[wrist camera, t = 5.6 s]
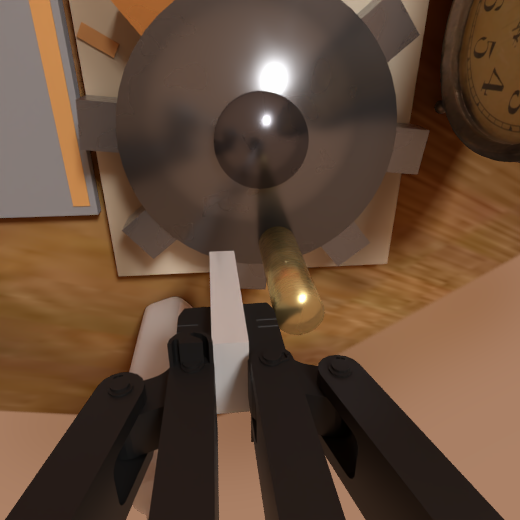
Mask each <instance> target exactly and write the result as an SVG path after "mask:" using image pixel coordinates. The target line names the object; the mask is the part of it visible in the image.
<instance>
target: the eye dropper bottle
mask: <svg viewBox="0 0 520 520" xmlns="http://www.w3.org/2000/svg"><path fill="white" fill-rule="evenodd" d="M185 308H193V307H192V306H191V305H190V304H188V303H187V302H186V301H185V300H183V299H182V298H179V297H170V298H167V299H164V300H161V301H158V302H156V303H153V304H150V305H149V306H148V307H146V309H145V312H144V315H143V319H142V323H141V327H140V331H139V335H138V339H137V343H136V346H135V350H134V354H133V358H132V363H131V367H130V371H129V372H131V373H135V374H138V375H139V376H141V377H142V378H143V381H144V380H147V379H150V378H153V377H156V376H158V375H160V374H162V373H164V372H165V371H166V370H167V369H169V368H170V366H169V357H168V348H167V343H168V341H169V339H170V338H172V337H173V336H174V335H175V334H177V333H176V332H177V322H178V316H179V315H180V313H181V312H182V311H183V310H184V309H185ZM157 454H158V449H157V450H154V454H153V458H152V460H151V462H150V465H149V467H148V469H147V472H146V474H145V476H144V479H143V481H142V483H141V486H140V488H139V490H138V492H137V495H136V497H135V499H134V502H133V504H132V505H133V506H134V507H135V508H136V509H137V510H138V511H139V512H141V513H143V514H146V516H147V520H148V519H149V511H150V504H151V497H152V490H153V483H154V476H155V468H156V461H157Z"/></svg>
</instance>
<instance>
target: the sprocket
mask: <svg viewBox="0 0 520 520" xmlns="http://www.w3.org/2000/svg"><path fill="white" fill-rule="evenodd" d="M111 1H112V3H113V4H114V5H115V6H116V7H117V8H118V10H119V11H120V12H121V13H122V14H123V15H124V17H125V18H126V19H127V20H128V21H129V22H130V24H131V25H132V26H133V27H134V28H135V29H136V31H137V32H138V33H139V34H140V35H141V37H140V39H139V41H138V42H137V44H136V45H135V47H134V49H133V51H132V53H131V55H130V57H129V60H128V62H127V64H126V66H125V69H124V72H123V76H122V79H121V83H120V86H119V91H118V98H116V97H105V96H94V95H85V96H82V97H80V98H78V99H76V109H77V119H78V129H79V140H80V150H88V151H101V152H115V153H119V154H120V158H121V161H122V165H123V168H124V171H125V173H126V176H127V178H128V181H129V183H130V185H131V187H132V189H133V191H134V193H135V194H136V196H137V198H138V200H139V201H140V203H141V204H142V206H141V207H140V208H139V209H137V210H136V211H135V212H134V213H133V214H132V215H131V216H130V217H128V219H127V221H126V223H125V225H124V227H123V229H122V231H123V232H124V233H125V234H126V235H127V236H128V237H129V238H130V239H132V240H133V241H134V242H135V243H136V244H137V245H138V246H139V247H141V248H142V249H143V250H144V251H145V252H146V253H147V254H148V255H150V256H151V257H152V258H153V259H154V258H156V257H157V256H158V255H159V254H160V253H162V252H163V251H164V250H165V249H166V248H168V247H169V246H170V245H171V244H172V243H173V242H175V241H176V240H178V241H180V242H182V243H183V244H185V245H186V246H188V247H190V248H192V249H194V250H196V251H198V252H200V253H202V254H205V255H208V256H209V252H216V251H234V254H235V260H236V266H237V272H238V278H239V285H240V289H265V288H266V281H267V285H268V290H269V294H270V298H271V303H272V307H273V309H274V311H275V315H276V319H277V322H278V326H279V328H280V329H281V330H282V331H284V332H286V333H289V334H293V335H301V334H306V333H308V332H311V331H312V330H314V329H315V328H317V327H318V326H319V324H320V323H321V322H322V320H323V317H324V306H323V304H322V301H321V299H320V296H319V294H318V292H317V289H316V287H315V284H314V282H313V280H312V277H311V275H310V273H309V270H308V268H307V265H306V263H305V261H304V258H303V256H302V255H303V254H306V253H309V252H311V251H313V250H315V249H317V248H319V247H322V249H323V250H324V251H325V252H326V253H327V254H328V256H329V257H330V258H331V259H332V260H333V261H334V263H335V264H336V265H337V266H339V265H341V264H342V263H344V262H345V261H346V260H348V259H349V258H350V257H352V256H353V255H354V254H356V253H357V252H359V251H360V250H361V249H363V248H364V247H365V246H367V245H368V244H369V243H370V242H369V240H368V239H367V238H366V237H365V235H364V234H363V233H362V231H361V230H360V229H359V228H358V226H357V225H356V224H355V222H354V221H355V220H356V219H357V217H358V216H359V215H360V214H361V213H362V212H363V211H364V209H365V208H366V207H367V205H368V204H369V203H370V201H371V200H372V198H373V197H374V195H375V193H376V192H377V190H378V188H379V186H380V185H381V183H382V180H383V178H384V176H385V173H386V172H391V173H405V174H418V171H419V167H420V164H421V160H422V156H423V153H424V149H425V145H426V142H427V138H428V134H429V131H430V130H428V129H425V128H423V127H420V126H418V125H415V124H407V123H397V104H396V94H395V89H394V84H393V79H392V75H391V72H390V69H389V66H388V63H387V62H389V61H390V60H391V59H392V58H393V57H395V56H396V55H397V54H398V53H399V52H400V51H402V50H403V49H404V48H405V47H406V46H408V45H409V44H410V43H411V42H412V41H414V40H415V39H416V38H417V37H418V36H419V35H420V34H419V32H418V31H417V29H416V27H415V25H414V23H413V21H412V20H411V18H410V16H409V14H408V12H407V10H406V8H405V7H404V5H403V3H402V1H401V0H372V1H371V2H370V3H369V4H368V5H367V6H366V7H364V8H363V9H362V10H361V11H360V12H359V13H358V14H356V13H355V12H354V11H353V10H352V9H351V8H350V7H349V6H348V5H346V4H345V3H344V2H343V1H341V0H111Z"/></svg>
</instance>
